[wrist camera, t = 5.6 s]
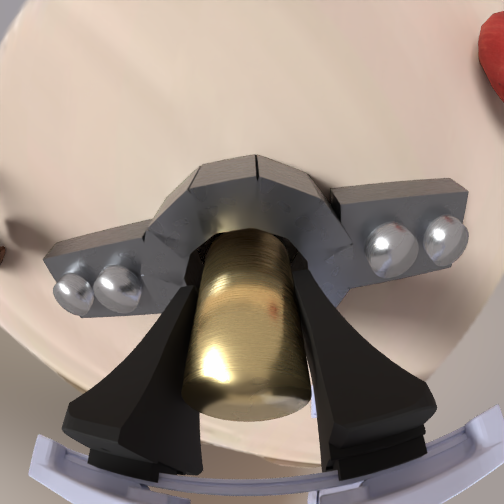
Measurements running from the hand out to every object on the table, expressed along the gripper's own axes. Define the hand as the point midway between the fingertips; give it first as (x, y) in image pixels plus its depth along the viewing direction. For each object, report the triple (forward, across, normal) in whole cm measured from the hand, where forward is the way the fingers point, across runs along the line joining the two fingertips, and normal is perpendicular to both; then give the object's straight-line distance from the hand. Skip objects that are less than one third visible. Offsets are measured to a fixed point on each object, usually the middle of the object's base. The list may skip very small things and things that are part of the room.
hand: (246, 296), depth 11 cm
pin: (+2, 0, 0) cm, 2 cm away
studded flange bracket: (+4, 0, 0) cm, 4 cm away
